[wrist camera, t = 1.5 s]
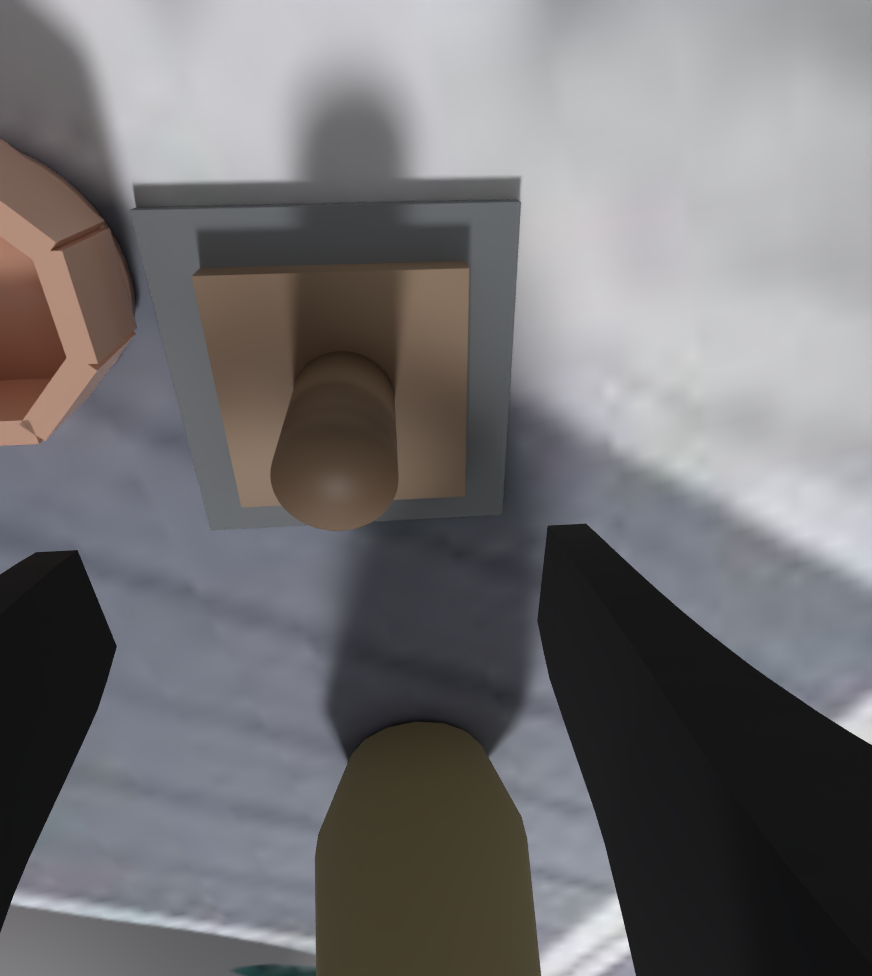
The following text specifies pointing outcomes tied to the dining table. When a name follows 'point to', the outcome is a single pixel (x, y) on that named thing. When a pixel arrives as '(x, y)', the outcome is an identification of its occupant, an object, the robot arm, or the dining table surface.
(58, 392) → the bowl
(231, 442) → the lid
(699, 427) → the dining table surface
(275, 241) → the coaster
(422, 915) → the squeeze bottle
